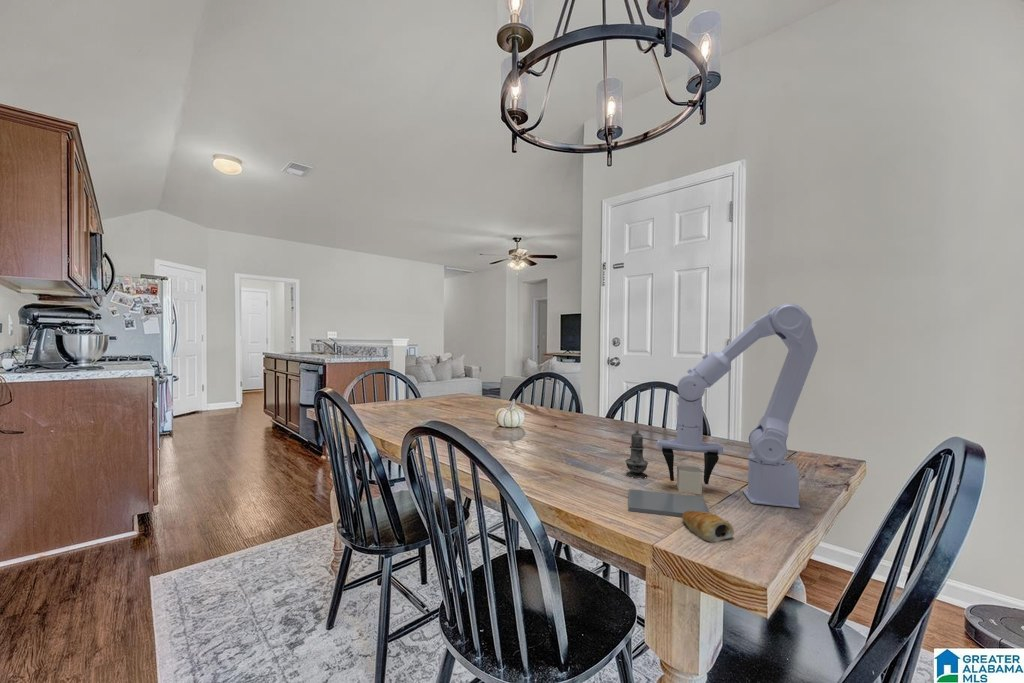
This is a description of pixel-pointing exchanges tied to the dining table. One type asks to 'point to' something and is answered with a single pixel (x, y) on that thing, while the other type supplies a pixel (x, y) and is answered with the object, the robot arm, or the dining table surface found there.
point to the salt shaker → (636, 457)
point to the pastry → (708, 525)
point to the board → (665, 503)
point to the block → (689, 479)
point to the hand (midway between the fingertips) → (688, 481)
